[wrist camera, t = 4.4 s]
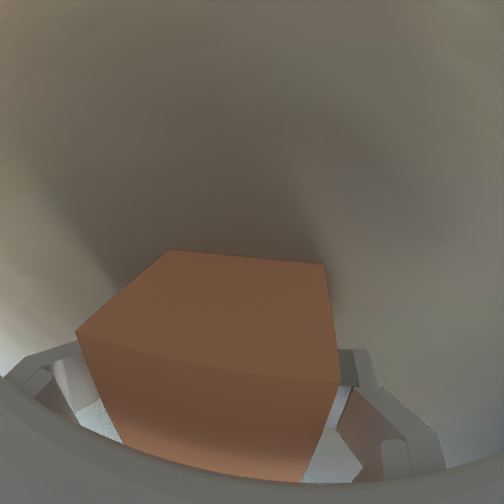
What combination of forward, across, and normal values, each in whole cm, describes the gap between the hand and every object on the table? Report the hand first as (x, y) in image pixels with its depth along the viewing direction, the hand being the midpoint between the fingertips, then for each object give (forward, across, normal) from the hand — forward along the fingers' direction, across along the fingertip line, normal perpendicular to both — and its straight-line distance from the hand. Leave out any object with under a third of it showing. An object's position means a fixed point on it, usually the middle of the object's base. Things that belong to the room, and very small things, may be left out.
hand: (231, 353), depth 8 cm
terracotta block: (+2, 0, 0) cm, 2 cm away
